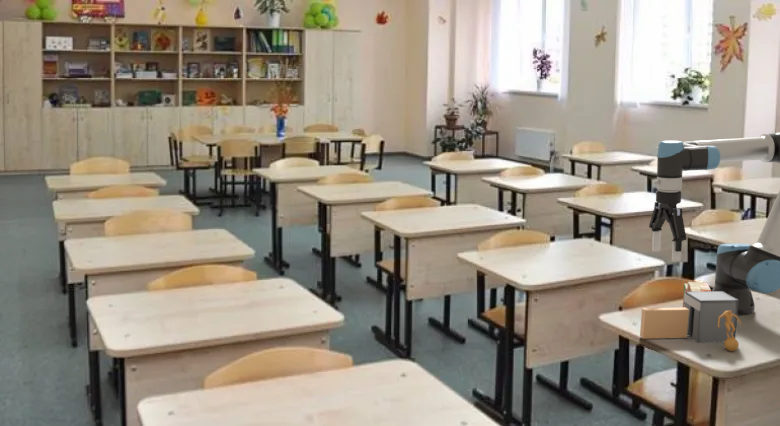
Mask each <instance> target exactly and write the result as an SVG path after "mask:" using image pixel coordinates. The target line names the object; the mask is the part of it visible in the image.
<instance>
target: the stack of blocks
mask: <svg viewBox="0 0 780 426" xmlns="http://www.w3.org/2000/svg"><path fill="white" fill-rule="evenodd" d="M698 291H712V289H711V288H710V286H709V284H708V283H707V282H699V281H698V282H697V281H688V282H687V283H685V282H684V284H683V298H682V299H683V300H682V301H683V303H682V307H685V302H684V297H685V294H686V292H698Z"/></svg>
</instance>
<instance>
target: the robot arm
mask: <svg viewBox="0 0 780 426" xmlns="http://www.w3.org/2000/svg"><path fill="white" fill-rule="evenodd" d="M656 157H657V158H656V159H657V162H656V164H657V166H656V180H655V184H656V189H657V190H656V191H655V193H656V194H655V202H654V206H653V211H652V215H651V218H650V221H649V225H648V227H649V228H650V229H651V232H652V237H651V239H652V241H651V252H653V253H654V252H661V251H662V231H663V229H662V227H663V226H664V223H665V222H667V223H668V225H669V227H670V228H669V229H670V232H671V234H672V237H673V239H672V240H671V242H672V246H671V262H682V247H683V244H682V243H683V242H684V241H686V240H687V234H686V229H685V224H684V217H683V209H682V208H677V205H679V204H680V203H681V202H682V192H681V190H682V189H683V185H682V184H683V172H687V171H710V170H715V169H716V168H718V167H719V166H720V163H726V162H727V163H728V162H742V161H743V162H744V161H745V162H747V161H761V162H762V163H779V164H780V132H772V133H770V132H769V133H763V134H761V135H760V136H757V137H741V138H739V137H738V138H723V139H709V140H706V139H705V140H693V141H691V140H690V141H689V140H688V141H681V140H663V141H660V142H659V143H658V149H657V154H656ZM716 251H717V252H716V265H715V274H714V275H715V277H714V286H713V287H712V289H711V291H723V292H725V293H727V294H729V295H730V296H732V297H734V298H736V299H738V300H739V304H738V315H737V316H748V315H751V314H754V313H755V309H756V308H755V306H756V305H755V301H754V298H753V293H752V291H753V292H757V293H760V294H765V295H766V294H772V293H775V292H776V291H778V290H779V289H780V190H779V191H778V193H777V196H776V198H775V200H774V203H773V204H772V207H771V210H770V212H769V214H768V216H767V219H766V221H765V223H764V226H763V228H762V229H761V233H760V234H759V237H758V239H757V241H756V242H753V243H751V244H750V243H741V242H739V243H738V242H737V243H733V242H732V243H731V242H730V243H721V244H720V245H718V247H717V250H716Z"/></svg>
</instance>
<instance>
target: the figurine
mask: <svg viewBox="0 0 780 426" xmlns="http://www.w3.org/2000/svg"><path fill="white" fill-rule="evenodd" d="M723 316H724V317H725V320H726V322H725V326H726V328H727V331H726V332H727V336H728V339H726V340H725V342H723V346H724V348H725V350H727V351H729V352H735V351H736V350H738V349H739V346H740V345H739V341H738V340H737V339H736V337H735V338H734V337H733V334H732V333H733V332H734V331H735V327H734V325H733V322H731V319H732V316H734V317H736V318H737V322H738V323H740V325H741V327H742V326H743V324H742V322H741V319H739V317H738V315H737V316H736V315H735V314H733V313H732V311H731V310H729V311H725V312H724V313H723V314H722V315H721V316H719V317H718V328H719V327H720V325H719V323H720V318H722V317H723ZM730 327H731V328H732V329H733V330H731V336H732V338H730V337H729V334H728V333H729V331H730Z"/></svg>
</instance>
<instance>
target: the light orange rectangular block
mask: <svg viewBox="0 0 780 426" xmlns="http://www.w3.org/2000/svg"><path fill="white" fill-rule="evenodd" d="M688 316H689V309H687V308H686V307H683V306H682V307H681V306H680V307H642V308H641V318H640V331H639V332H640V333H639V337H640V338H641V339H643V340H645V339H683V338H684V339H685V338H687V337H688V335H687V328H688Z"/></svg>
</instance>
